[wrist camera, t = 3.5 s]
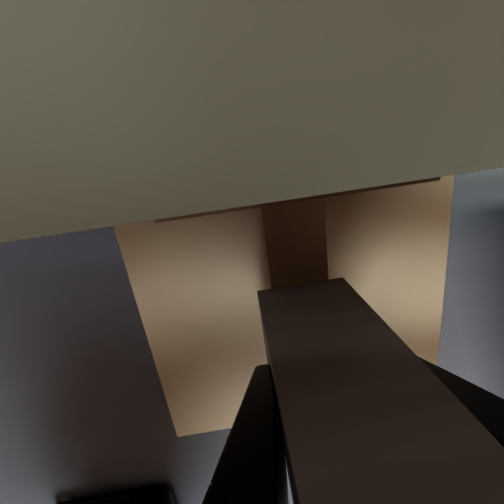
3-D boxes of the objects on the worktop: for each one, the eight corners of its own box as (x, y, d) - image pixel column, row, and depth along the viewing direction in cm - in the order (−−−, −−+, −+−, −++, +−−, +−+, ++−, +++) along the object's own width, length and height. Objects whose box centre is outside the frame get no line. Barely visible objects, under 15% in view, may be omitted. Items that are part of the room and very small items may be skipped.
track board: (414, 370, 15) (434, 392, 13) (182, 409, 14) (177, 437, 13) (455, -299, 7) (508, -408, 6) (-6, -251, 7) (-64, -353, 6)
